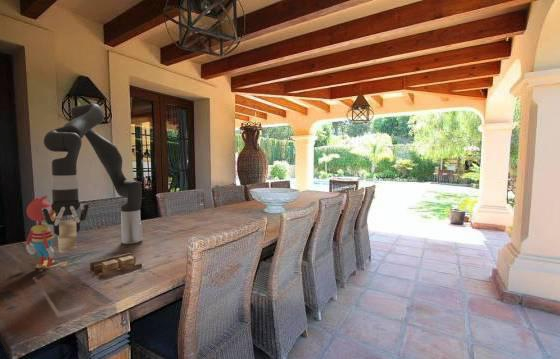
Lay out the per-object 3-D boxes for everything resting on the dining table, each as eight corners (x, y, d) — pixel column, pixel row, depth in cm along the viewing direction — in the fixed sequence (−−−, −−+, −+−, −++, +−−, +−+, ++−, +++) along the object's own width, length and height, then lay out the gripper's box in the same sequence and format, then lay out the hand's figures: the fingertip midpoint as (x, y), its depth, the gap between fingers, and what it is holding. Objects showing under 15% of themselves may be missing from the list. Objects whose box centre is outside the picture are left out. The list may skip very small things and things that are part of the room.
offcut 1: (114, 269, 112) (114, 259, 112) (118, 271, 109) (118, 261, 109) (102, 272, 109) (101, 262, 108) (105, 275, 106) (105, 265, 106)
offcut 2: (130, 264, 117) (130, 255, 116) (134, 267, 114) (134, 257, 114) (118, 267, 113) (118, 258, 113) (122, 270, 111) (122, 260, 110)
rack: (130, 261, 123) (130, 252, 123) (143, 269, 115) (143, 259, 115) (88, 272, 111) (88, 262, 111) (99, 281, 103) (99, 271, 102)
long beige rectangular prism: (74, 247, 106) (73, 219, 105) (77, 249, 104) (76, 220, 103) (58, 251, 102) (57, 221, 101) (60, 253, 100) (59, 222, 99)
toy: (71, 265, 117) (68, 195, 115) (44, 275, 108) (40, 198, 105) (48, 261, 122) (44, 193, 120) (20, 269, 112) (16, 196, 110)
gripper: (85, 185, 109) (86, 228, 110) (37, 188, 98) (39, 235, 99) (91, 187, 104) (93, 231, 105) (41, 190, 93) (44, 239, 94)
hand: (67, 233), depth 102 cm, fingers closed on long beige rectangular prism, 5 cm apart
